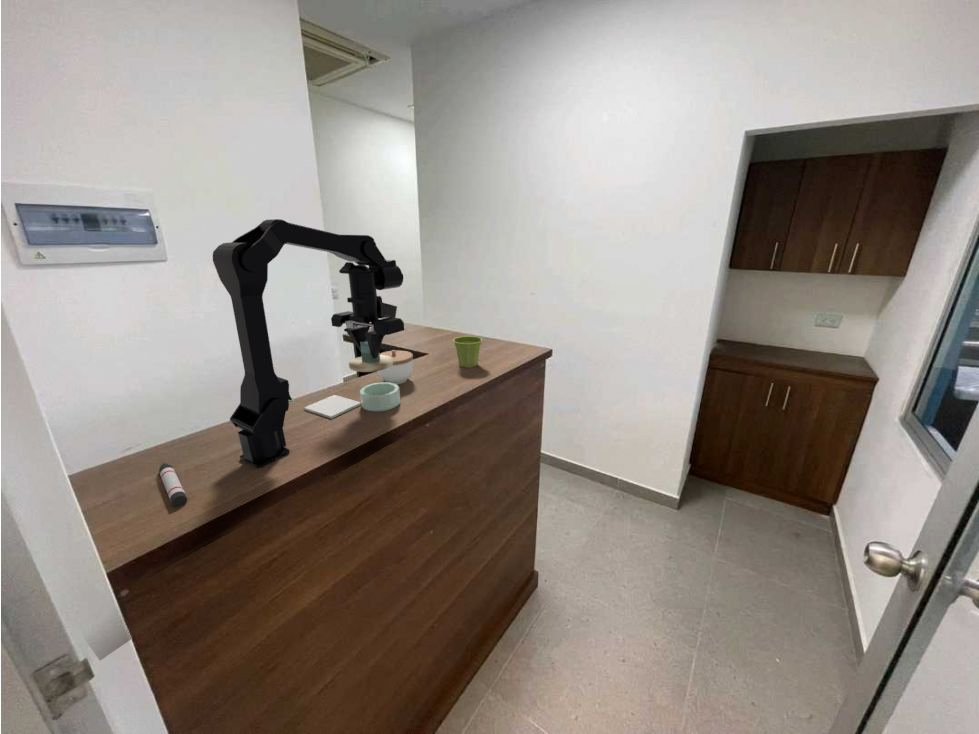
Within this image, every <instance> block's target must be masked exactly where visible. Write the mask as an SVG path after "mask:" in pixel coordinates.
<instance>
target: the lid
mask: <svg viewBox="0 0 979 734" xmlns="http://www.w3.org/2000/svg"><path fill="white" fill-rule="evenodd" d="M360 347H361V352H360V354H361V356H357V357H355V358H352V359H351V360H349V362H348V367H349V369H350V370H351V371H354V372H358V373H360V372H361V373H372V372H378V371H380V370H384V369H387V368H389V367H391V366H392V365H393V358H392V357H390V356H387V355H380V352H379V354H378V357H377V358H375V359H374V358H373V356H372V354H371V351H370V348H369V345H368V342H367V340H365V341H361V342H360Z"/></svg>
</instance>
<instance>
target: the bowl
mask: <svg viewBox="0 0 979 734" xmlns="http://www.w3.org/2000/svg"><path fill="white" fill-rule="evenodd" d="M359 396H360V402H361V408H362V409H363V410H365V411H367V412H372V413H375V412H376V413H378V412H380V413H381V412H386V411H389V410H393V409H395V408H396V407H398V406H399V405H400V403H401V392H400V386H399V384H394V383H390V382H386V381H385V382H383V381H382V382H380V381H379V382H375V383H369V384H367V385H365V386H363V387H362V388H360V390H359Z"/></svg>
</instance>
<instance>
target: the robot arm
mask: <svg viewBox="0 0 979 734" xmlns="http://www.w3.org/2000/svg"><path fill="white" fill-rule="evenodd" d="M285 244H286V245H291V246H294V247H299V248H305V249H310V250H317V251H320V252H327V253H330V254H332V255H334V256H336V257H337V258H339V259H342V260H344V261H346V262H345V263H344V265H343V266H342V267H341V268H340V269H339V271H338V272H339V273H340V274H346V275H348V281H349V291H350V296H349V297H347V298H346V299H347V303H350V304H351V307H352V311H349V310H347V311H344V312H338V313H333V314H332V316H331V318H330V319H331V327H336V328H341V327H342V326H343V325H344V324H345V325H346V327H345V328H344V329H343V331H344V332H345V333H346V334H348V336H349V337H350V338H351V340H352V341H353V342H354V343H355V345H356V347H357V349H358V351H359V352H360V353H361V347H360V342H361V341H365V340H367V342H368V345H369V348H370V351H371V354H372V356H373V358H374V359H375V358H377V357H378V354H379V353H380V350H381V346H382V343H383V340H384V337H385V336H387V335H388V336H389V335H393V334H397V333H399V332H402V331H405V323H404V322H405V321H404V320H403V319H402V318H399V317H396V315H397V311H398V310H397V309H398V306H396V305H393V304H389V303H386V302H383V298H382V295H378V294H377V290H378V291H384V290H389V289H390V290H391V289H396V288H400V287H401V286H402V284H403V282H404V274H403V272H402V270H401V268H400V267H399V266H398V265H397V261H396V260H395V259H386V258H385V257H384V255H383V253H382V252H381V250H380V249H379V247H378V246H377V243H376V241H375V239H374V238H373V236H370V235H367V234H337V233H335V232H334V233H333V232H330V231H325V230H320V229H317V228H312V227H308V226H305V225H300V224H295V223H292V222H289V221H288V222H287V221H285V220H284V219H278V218H277V219H265V220H262V222H261V223H260V224H258V225H256V226H255V228H253V229H251V230H249V231H247V232H246V233H244V234H242V235H240V236H238V237H237V238H235V239H234V240H233V241H231V242H223V243H221V244H219V245H218V246H217V247H216V248H215V249H214V250H213V252H212V262H213V265H214V268H215V271H216V273H217V275H218V278H219V280H220V282H221V284H222V285H223V287H224V288H225V289H226V291H227V294H229V296H230V299H231V304H232V309H233V314H234V321H235V325H236V331H237V335H238V336H237V337H238V343H239V348H240V353H241V359H242V363H243V368H244V369H243V370H244V376H243V379H242V382H241V383H240V384H241V385H240V391H239V393H240V398H239V399H240V403H239V404H238V406H237V407H236V409H235V410H234V411H233V412H232V415H231V416H230V418H229V421H230V422H231V424H233V426H234V427H235V428H239V429H241V430H240V431H237V435H238V440H239V443H240V447H241V449H242V450H241V451H242V455H240V456H239V459H240V460H241V461H243V462H246V463H248V464H249V465H251V466H254V467H255V468H262V467H263V466H265V465H267V464H269V463H271V462H273V461H276V460H277V459H279V458H281V457H283V456H286V454H288V453H290V452H291V450H290V449H289V448H287V442H286V438H285V437H286V435H285V433H284V423H285V416H286V413H287V411H289V408H290V401H292V400H293V398H292V396H291V395H290V383H289V380H288V379H285V378H282V377H279V376H277V374H276V371H275V369H274V368H275V367H274V362H273V356H272V348H271V343H270V338H269V337H270V336H269V331H268V324H267V318H266V317H267V316H266V313H265V306H264V299H263V298H264V297H263V295H264V293H265V289H266V286H267V283H268V276H269V275H268V274H269V272H268V271H269V270H268V269H269V263H271V262H272V261H273V260H274V259H275V258H277V256H278V255H279V253H280V252H281V251H282V249H283V247H284V246H285ZM354 263H355V264H354Z"/></svg>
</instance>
